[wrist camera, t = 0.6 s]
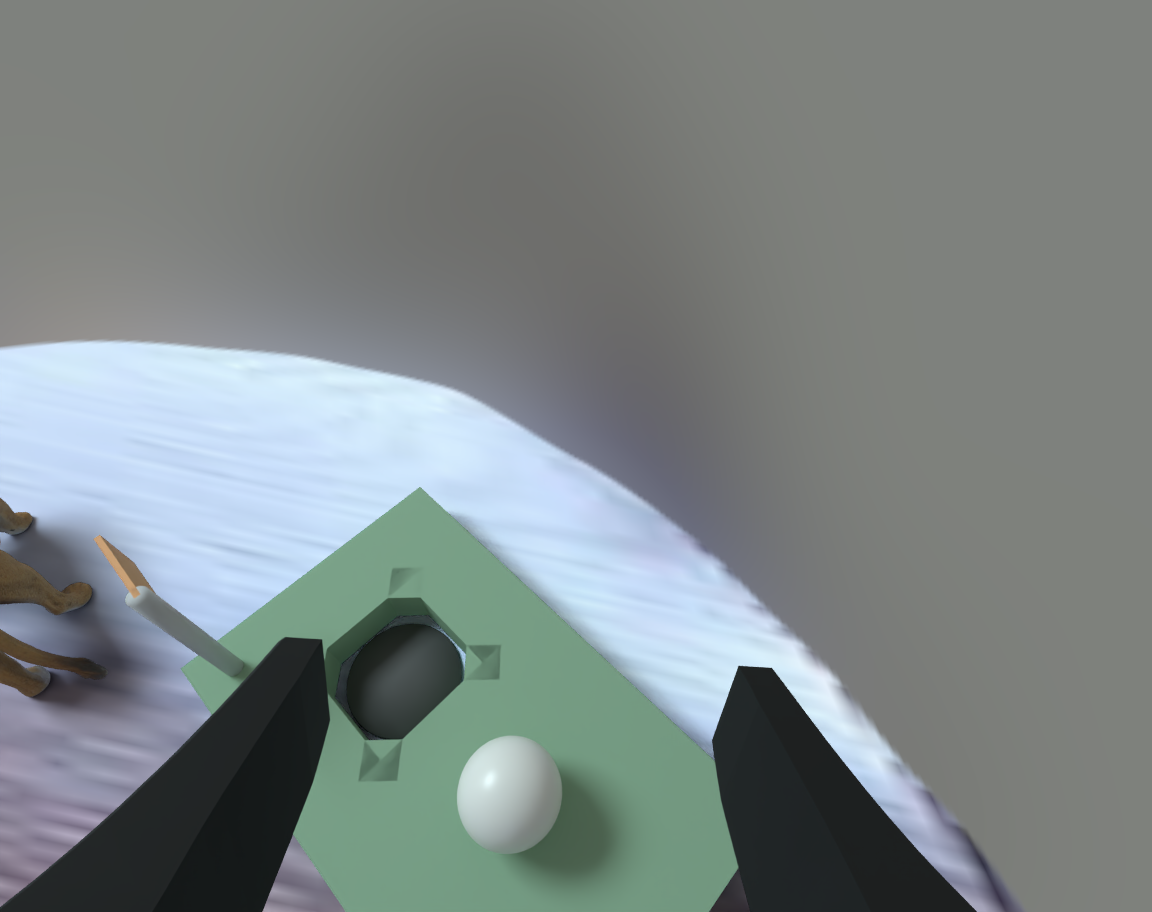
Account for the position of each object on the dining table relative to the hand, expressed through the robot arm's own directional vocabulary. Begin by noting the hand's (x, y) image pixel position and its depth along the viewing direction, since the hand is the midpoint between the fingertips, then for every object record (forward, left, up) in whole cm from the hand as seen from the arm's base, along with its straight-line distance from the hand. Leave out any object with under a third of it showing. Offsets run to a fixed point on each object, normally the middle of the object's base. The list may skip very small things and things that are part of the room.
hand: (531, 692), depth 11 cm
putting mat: (+3, +3, -16) cm, 17 cm away
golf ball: (0, +1, -12) cm, 12 cm away
